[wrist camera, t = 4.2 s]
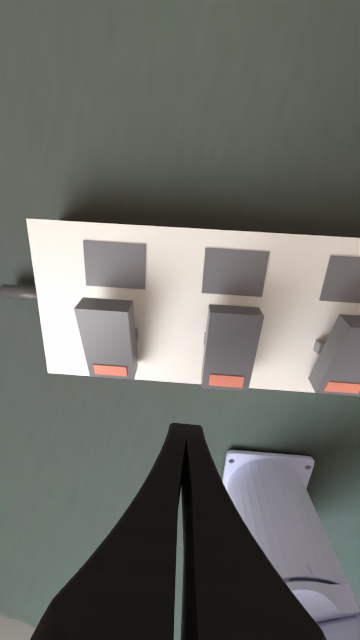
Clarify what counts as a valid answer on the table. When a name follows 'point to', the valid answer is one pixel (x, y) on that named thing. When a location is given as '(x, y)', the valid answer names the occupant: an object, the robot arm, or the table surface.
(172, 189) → the table surface
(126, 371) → the block
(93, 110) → the table surface
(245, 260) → the power strip
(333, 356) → the rocker
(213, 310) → the block
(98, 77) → the table surface
